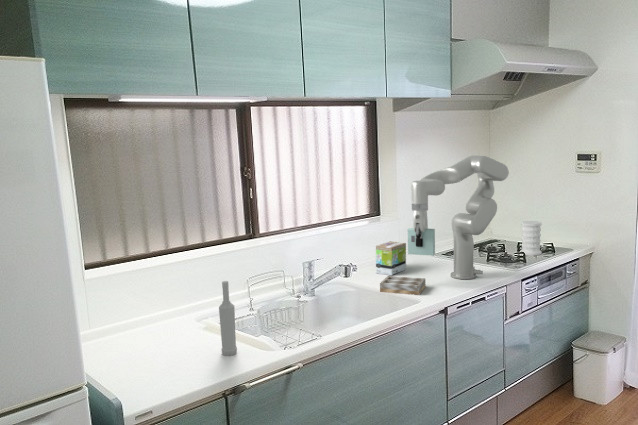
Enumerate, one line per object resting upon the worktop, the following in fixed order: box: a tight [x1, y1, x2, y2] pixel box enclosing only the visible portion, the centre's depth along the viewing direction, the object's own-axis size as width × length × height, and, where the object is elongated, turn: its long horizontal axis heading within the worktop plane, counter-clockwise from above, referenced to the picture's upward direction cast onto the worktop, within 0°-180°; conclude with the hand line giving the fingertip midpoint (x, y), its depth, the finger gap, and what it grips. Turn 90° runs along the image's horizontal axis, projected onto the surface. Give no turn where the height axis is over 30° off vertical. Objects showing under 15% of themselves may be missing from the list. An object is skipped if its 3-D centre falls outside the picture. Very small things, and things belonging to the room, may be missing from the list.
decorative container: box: [519, 220, 543, 256], centre depth 318 cm, size 12×12×18 cm
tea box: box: [375, 241, 407, 276], centre depth 288 cm, size 15×10×15 cm, turn 143°
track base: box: [379, 275, 427, 296], centre depth 256 cm, size 18×14×4 cm
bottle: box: [218, 280, 238, 357], centre depth 186 cm, size 5×5×25 cm
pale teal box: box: [407, 227, 436, 257], centre depth 259 cm, size 12×4×12 cm, turn 67°
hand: (420, 245), depth 260 cm, fingers closed on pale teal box, 3 cm apart
